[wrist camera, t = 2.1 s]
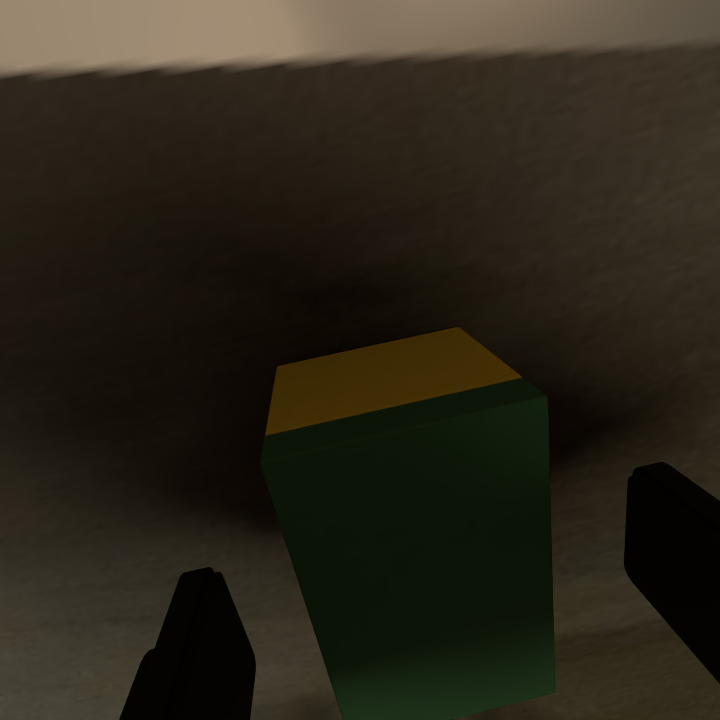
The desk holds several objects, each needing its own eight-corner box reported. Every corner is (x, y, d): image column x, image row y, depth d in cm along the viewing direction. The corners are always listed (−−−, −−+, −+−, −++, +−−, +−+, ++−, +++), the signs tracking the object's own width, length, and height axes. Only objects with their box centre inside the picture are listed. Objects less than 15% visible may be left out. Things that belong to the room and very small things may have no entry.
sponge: (276, 365, 11) (258, 462, 7) (459, 325, 11) (548, 395, 7) (337, 585, 14) (351, 747, 10) (482, 549, 14) (556, 693, 10)
